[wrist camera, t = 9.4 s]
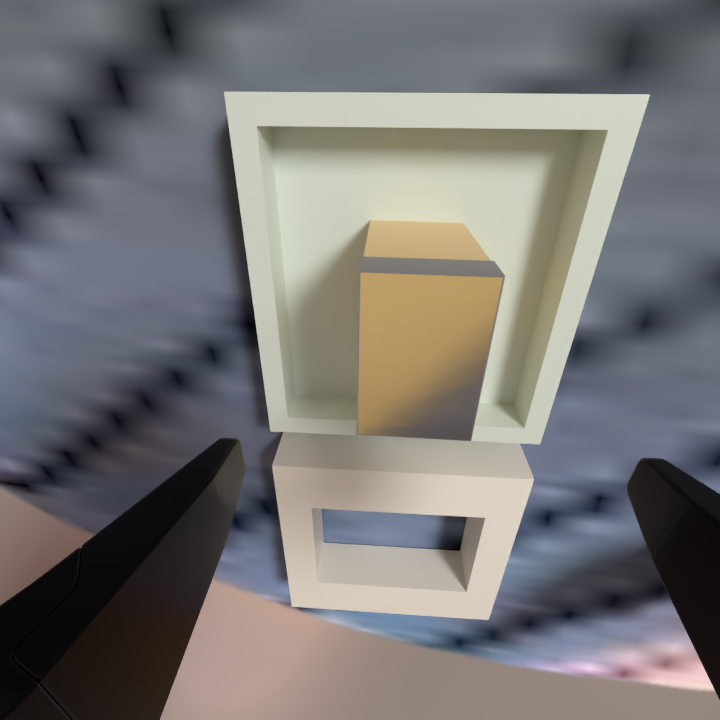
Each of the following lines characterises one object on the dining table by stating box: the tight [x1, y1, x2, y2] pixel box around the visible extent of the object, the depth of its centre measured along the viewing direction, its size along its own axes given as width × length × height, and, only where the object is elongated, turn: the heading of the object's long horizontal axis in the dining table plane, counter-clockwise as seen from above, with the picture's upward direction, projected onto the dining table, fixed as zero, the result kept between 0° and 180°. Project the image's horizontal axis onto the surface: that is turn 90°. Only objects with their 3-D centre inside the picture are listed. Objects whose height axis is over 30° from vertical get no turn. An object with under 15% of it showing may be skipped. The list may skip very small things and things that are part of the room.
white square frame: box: [272, 432, 534, 620], centre depth 26 cm, size 14×14×3 cm
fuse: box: [356, 220, 505, 441], centre depth 16 cm, size 4×6×7 cm
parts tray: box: [224, 92, 650, 444], centre depth 18 cm, size 14×15×2 cm
